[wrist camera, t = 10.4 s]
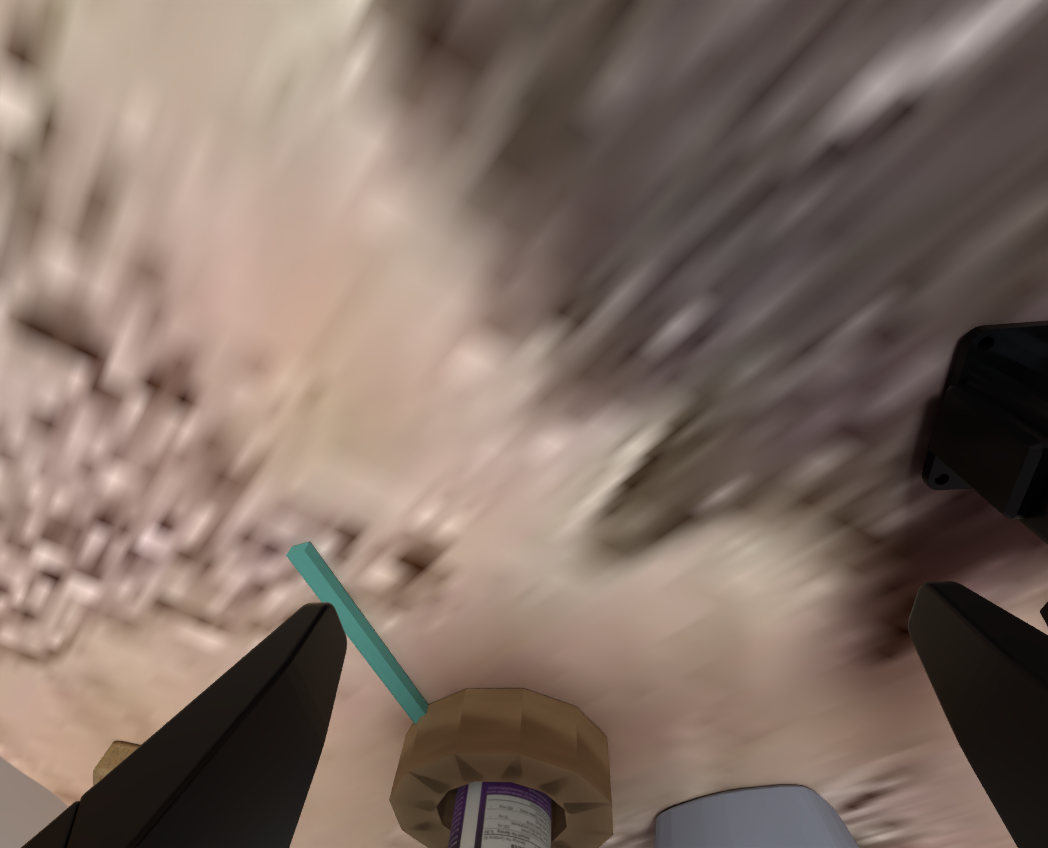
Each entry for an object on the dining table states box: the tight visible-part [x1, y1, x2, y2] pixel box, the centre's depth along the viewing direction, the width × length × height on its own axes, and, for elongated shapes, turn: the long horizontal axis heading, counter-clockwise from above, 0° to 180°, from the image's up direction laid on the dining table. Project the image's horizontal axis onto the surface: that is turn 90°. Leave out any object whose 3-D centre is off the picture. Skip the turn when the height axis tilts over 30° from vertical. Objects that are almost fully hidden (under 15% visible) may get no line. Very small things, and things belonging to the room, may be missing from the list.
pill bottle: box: [448, 782, 552, 848], centre depth 28 cm, size 5×5×10 cm
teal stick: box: [286, 542, 428, 725], centre depth 28 cm, size 14×1×1 cm, turn 21°
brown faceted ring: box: [389, 688, 613, 848], centre depth 31 cm, size 12×12×4 cm
